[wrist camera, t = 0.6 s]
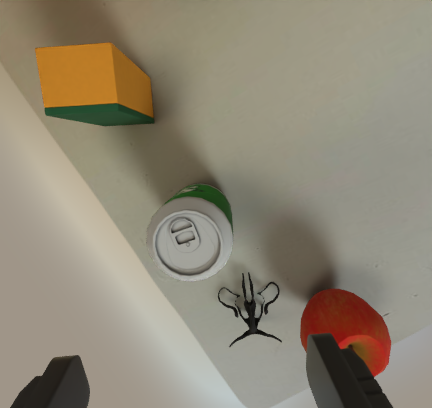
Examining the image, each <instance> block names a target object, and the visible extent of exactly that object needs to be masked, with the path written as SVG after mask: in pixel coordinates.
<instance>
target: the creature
mask: <svg viewBox="0 0 432 408" xmlns="http://www.w3.org/2000/svg"><path fill="white" fill-rule="evenodd" d="M242 275H243V281H242V288H243V293H244V298H245V301H244V306H245V309H246V311H247V313H248V316H249V317H248V318H247V319H245V318H243V316H242V314H241V311H240V309H239V307H238V306H237V308H238V311H239V314H240V316H241V317H242V319H243V320H244V321H245V323H247V324H248V326H249V330H248V331H246V332H245V333H244V334H243V335H242V336H240V337H238V338H237V339H236V340H234V341H233V342H232V343H231V345H233V344H234V343H235V342H236V341H238V340H241V339H243V338H245V337H246V336H249V335H251V334H260V335H264V336H267V337H272V338H275V339H277V340H279V341H280V342H282V341H281V340H280V339H278V338H277V337H275V336H273V335H270V334H267V333H265V332H263V331H261V330H258V329H257V326H258V322H259V321H260V318H261V316H262V313H263V304H264V303H263V304H262V306H261V315H260V317H259V318H255V317H254V316H255V308H256V302H255V300H254V299H253V297H254V293H253V284H252V281H251V279H250V274H249V272H248V275H249V281H250V290H251V295H252V300H251V302H248V301H247V300H246V289H245V283H244V274H243V273H242ZM271 283H273V284H275V283H274V282H270V283H269V284H271ZM269 284H268V285H267V286H266V288H267V287H268V286H269ZM275 285H276V284H275ZM276 286H277V285H276ZM266 288H265V289H266ZM277 288H278V294H277V295H276V297H275V298H274V299H273V300H272V301H270V302H268V303H266V304H265V307H264V312H265V314H267V313H268V310H267V308H268V305H269V304H271V303H273V302H274V301H275V300H276V299H277V298H278V295H279V287H278V286H277ZM222 289H223V288H221V289H220V290H222ZM226 289H227V288H226ZM265 289H264V290H265ZM227 290H228V289H227ZM264 290H263V291H264ZM228 291H229V290H228ZM263 291H261V292H263ZM229 292H230V293H232V292H231V291H229ZM261 292H259V293H257V294H259V295H261ZM219 293H220V291H219ZM219 293H218V299H219V301H220V297H219ZM232 294H234V293H232ZM234 295H236V294H234ZM236 296H237V298H238V297H239V296H240V295H236ZM262 297H263V296H262ZM263 299H264V298H263ZM220 302H221V303H222V304H223V305H224V306H225V307H227V308H231V309H233V310H234V312H235V317H238V312H237V309H236V308H235V307H233V306H229V305H226V304H225V303H223V302H222V301H220ZM235 302H236V300H235ZM264 302H265V300H264ZM235 305H236V304H235ZM231 345H230V346H229V347H231Z"/></svg>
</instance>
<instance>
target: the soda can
mask: <svg viewBox="0 0 432 408" xmlns="http://www.w3.org/2000/svg"><path fill="white" fill-rule="evenodd" d="M146 243H147V247H148V251H149V255H150V256H151V258H152V260H153V261H154V263H155V264H156V266H157V267H158V268H159V269H161V270H162V271H163V272H164V273H165V274H166V275H169V276H171V277H173V278H175V279H178V280H183V281H191V282H193V281H198V280H204V279H207V278H209V277H211V276H213V275H214V274H216V273H217V272H218V271H219V270H220V269H221V268H222V267H223V266H224V265H225V264H226V263H227V261H228V259H229V257H230V255H231V253H232V246H233V225H232V212H231V207H230V203H229V202H228V200H227V198H226V196H225V195H224V194H223V193H222V192H221V191H220V190H218V189H217V188H215V187H213V186H210V185H207V184H194V185H189V186H187V187H185V188H183V189H182V190H180V191H179V192H178V193H177V194H175V195H174V196H173V197H172V198H171V199H170V200H168V201H167V202H166V203H165V204H164V205H163V206H162V207H161V208H160V209H159V210H158V211H157V212H156V213H155V214H154V215H153V217H152V219H151V221H150V223H149V226H148V228H147V238H146Z"/></svg>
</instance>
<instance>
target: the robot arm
mask: <svg viewBox="0 0 432 408" xmlns="http://www.w3.org/2000/svg"><path fill="white" fill-rule="evenodd" d="M306 371H307V377H308V381H309V385H310V388H311V390H312V393H313V396H314V398H315V401H316V404H317V406H318V408H393V407H392V405H391V404H390V402H389V400H388V399H387V397H386V395H385V394H384V393H383V392H382V389H381V387H380V386H379V384H378V383H377V381H376V380H375V379H374V376H373V374H372V373H371V371H370V370H369V368H368V366H367V365H366V363H365V362H364V360H363V359H361V358H360V357H359V356H358V355H357V354H356V353H355V352H354V351H352V350H351V349H350V348H345V349H340V347H339V346H338V344H337V342H336V340H335V338H334V337H333V335H332V334H331V333H321V334H310V335H308V338H307V358H306ZM89 394H90V388H89V384H88V380H87V377H86V374H85V371H84V368H83V365H82V361H81V359H80V357H79V356H78V355H75V356H64V357H55V358H53V359H52V360H51V362H50V363H49V365H48V367H47V368H46V370H45V372H44V373H43V375H42V376H36V377H35V378H34V379H33V380H32V381H31V382H30V383H29V384H28V385H27V386H26V387H25V388H24V389H23V390H22V391H21V392H20V393H19V395H18V396H17V398H16V399H15V401H14V403H13V404H12V406H11V407H10V408H87V406H88V402H89V396H90V395H89Z"/></svg>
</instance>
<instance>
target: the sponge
mask: <svg viewBox="0 0 432 408" xmlns="http://www.w3.org/2000/svg"><path fill="white" fill-rule="evenodd" d="M35 52H36V58H37V64H38V70H39V77H40V83H41V89H42V95H43V102H44V107H45V114H46V115H47V116H52V117H57V118H63V119H68V120H74V121H79V122H85V123H90V124H96V125H101V126H116V125H133V124H151V123H154V115H153V104H152V93H151V82H150V78H149V77H148V76H147V75H146V74H145V73H144V72H143V71H142V70H141V69H140V68H138V67H137V66H136V65H135V64H134V63H133V62H132V61H131V60H130V59H129V58H127V57H126V56H125V55H124V54H123V53H122V52H121V51H120V50H119V49H118V48H116V47H115V46H114V45H113V44H112V43H111V42H109V43H96V44H82V45H69V46H55V47H41V48H35Z"/></svg>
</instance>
